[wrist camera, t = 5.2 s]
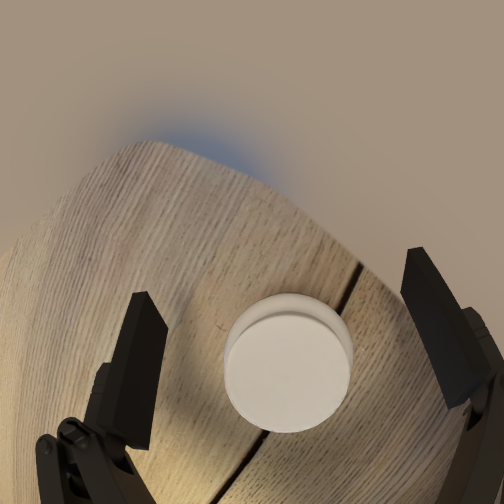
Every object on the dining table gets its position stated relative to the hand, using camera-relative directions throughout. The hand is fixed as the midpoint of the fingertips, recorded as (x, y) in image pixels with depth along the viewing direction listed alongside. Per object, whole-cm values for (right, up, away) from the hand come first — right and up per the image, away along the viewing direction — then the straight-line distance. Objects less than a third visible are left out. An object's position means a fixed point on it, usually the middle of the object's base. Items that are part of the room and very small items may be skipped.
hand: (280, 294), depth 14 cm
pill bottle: (+1, -3, +4) cm, 5 cm away
